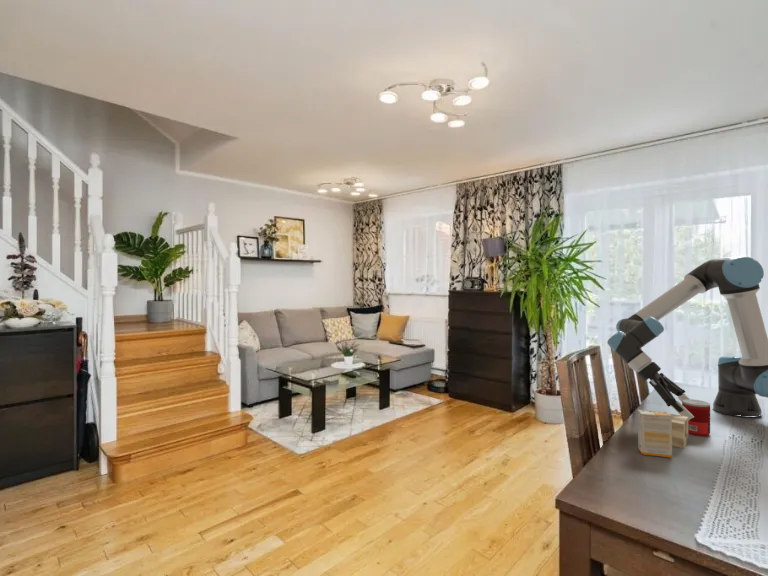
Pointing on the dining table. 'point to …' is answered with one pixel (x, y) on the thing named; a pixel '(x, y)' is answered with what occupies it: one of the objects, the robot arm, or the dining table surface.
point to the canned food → (698, 417)
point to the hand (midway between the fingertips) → (693, 414)
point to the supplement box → (655, 433)
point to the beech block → (679, 430)
